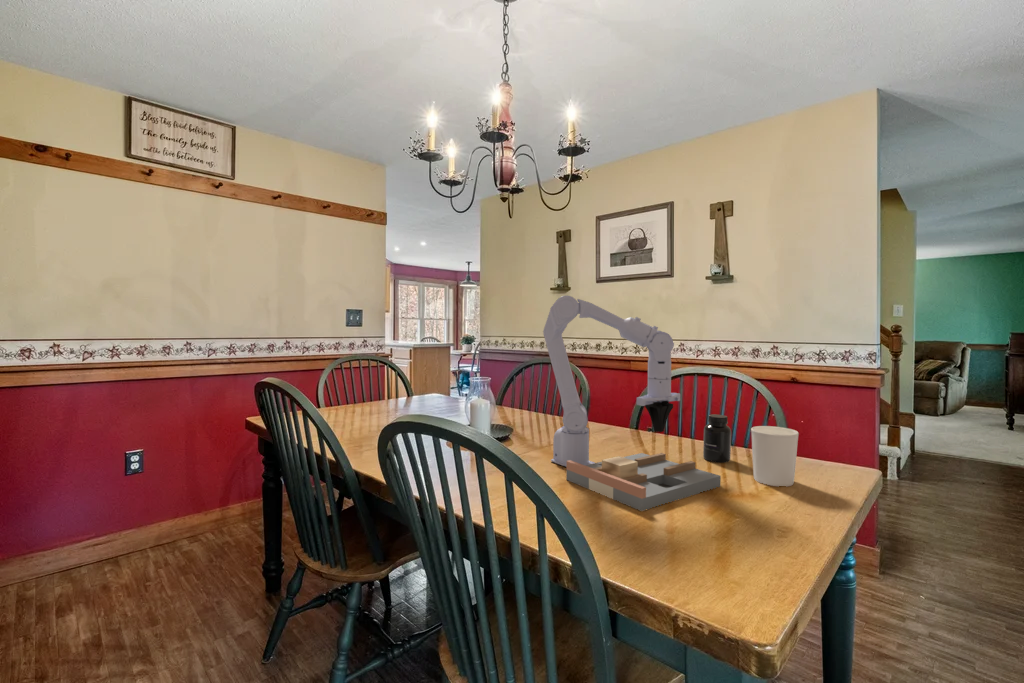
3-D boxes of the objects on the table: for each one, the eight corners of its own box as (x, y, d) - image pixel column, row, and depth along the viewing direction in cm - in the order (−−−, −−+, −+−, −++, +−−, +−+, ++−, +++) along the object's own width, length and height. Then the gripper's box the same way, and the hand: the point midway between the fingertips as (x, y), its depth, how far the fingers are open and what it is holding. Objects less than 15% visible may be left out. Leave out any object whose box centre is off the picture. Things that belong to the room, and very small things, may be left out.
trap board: (566, 479, 114) (566, 460, 114) (641, 462, 129) (641, 445, 128) (641, 511, 95) (641, 488, 95) (720, 486, 109) (720, 466, 109)
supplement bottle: (704, 462, 129) (705, 417, 128) (702, 455, 135) (702, 412, 135) (732, 464, 127) (733, 418, 126) (728, 457, 133) (729, 414, 133)
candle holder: (806, 488, 108) (808, 435, 108) (762, 487, 108) (763, 435, 108) (783, 474, 118) (784, 425, 118) (742, 474, 118) (743, 425, 118)
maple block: (601, 477, 108) (601, 459, 108) (619, 473, 111) (619, 456, 111) (619, 484, 103) (619, 465, 103) (637, 479, 106) (637, 461, 106)
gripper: (652, 381, 116) (652, 437, 116) (690, 377, 124) (690, 430, 124) (630, 378, 122) (629, 432, 122) (668, 375, 130) (667, 425, 130)
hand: (658, 431), depth 124 cm, fingers closed
